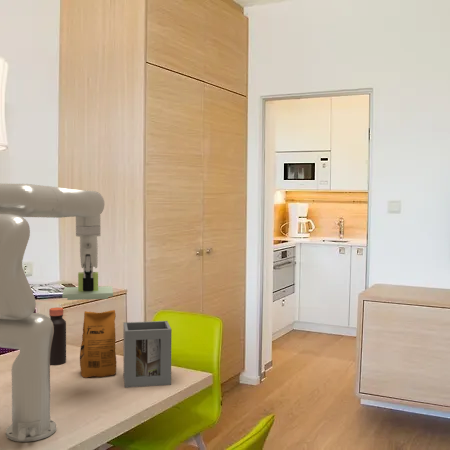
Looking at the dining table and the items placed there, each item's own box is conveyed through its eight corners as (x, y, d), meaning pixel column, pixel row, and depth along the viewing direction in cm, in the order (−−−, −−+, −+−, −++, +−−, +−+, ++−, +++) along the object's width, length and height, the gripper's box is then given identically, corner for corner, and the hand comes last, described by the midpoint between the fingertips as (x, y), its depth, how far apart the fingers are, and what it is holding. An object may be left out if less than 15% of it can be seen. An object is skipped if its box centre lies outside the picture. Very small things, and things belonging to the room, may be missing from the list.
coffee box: (162, 380, 188) (163, 333, 187) (147, 385, 184) (147, 337, 183) (146, 374, 195) (146, 328, 194) (130, 378, 190) (131, 331, 189)
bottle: (47, 360, 209) (46, 307, 208) (65, 359, 211) (65, 306, 210) (46, 365, 203) (46, 311, 202) (66, 364, 205) (66, 310, 204)
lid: (113, 299, 172) (113, 275, 172) (62, 301, 169) (62, 276, 169) (112, 292, 184) (112, 269, 184) (64, 293, 181) (64, 270, 180)
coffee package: (80, 369, 199) (79, 308, 198) (115, 367, 202) (115, 307, 201) (79, 379, 189) (79, 314, 188) (117, 376, 192) (117, 313, 191)
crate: (171, 384, 185) (171, 329, 184) (124, 387, 182) (125, 331, 181) (166, 372, 197) (167, 320, 196) (123, 375, 194) (123, 322, 192)
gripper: (100, 233, 168) (100, 294, 169) (100, 229, 184) (100, 284, 185) (74, 233, 167) (74, 294, 168) (76, 229, 182) (77, 285, 184)
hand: (88, 289), depth 177 cm, fingers closed on lid, 3 cm apart
